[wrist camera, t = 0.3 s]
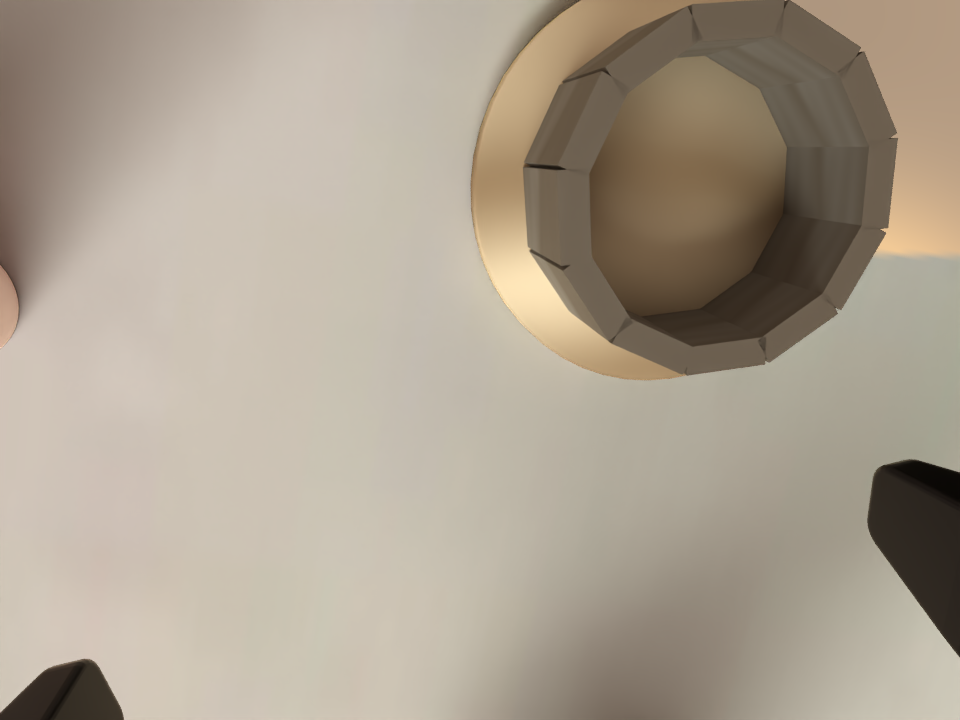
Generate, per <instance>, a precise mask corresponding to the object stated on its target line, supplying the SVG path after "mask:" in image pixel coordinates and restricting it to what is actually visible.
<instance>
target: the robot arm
mask: <svg viewBox="0 0 960 720" xmlns="http://www.w3.org/2000/svg"><path fill="white" fill-rule="evenodd" d="M867 523H868V529H869V532H870V535H871V537H872V539H873V540H874V542H875V544H876V545H877V546H878V548H879V549H880V551H881V552H882V553H883V555H884V556H885V557H886V559H887V560H888V561H889V563H890V564H891V566H892V567H893V568H894V570H895V571H896V572H897V574H898V575H899V577H900V578H901V579H902V581H903V582H904V583H905V585H906V586H907V587H908V589H909V590H910V592H911V593H912V594H913V596H914V597H915V598H916V600H917V601H918V603H919V604H920V605H921V607H922V608H923V609H924V611H925V612H926V613H927V615H928V616H929V618H930V619H931V620H932V622H933V623H934V624H935V626H936V627H937V629H938V630H939V631H940V633H941V634H942V635H943V637H944V638H945V639H946V640H947V642H948V643H949V644H950V646H951V647H952V648H953V650H954V651H955V652H956V653H957V655H958V656H959V657H960V472H956V471H953V470H950V469H946V468H943V467H939V466H936V465H932V464H929V463H926V462H922V461H919V460H913V459H909V460H903V461H899V462H894V463H890V464H886V465H883V466H881V467H879V468H878V469H877V470H876V472H875V473H874V476H873V482H872V489H871V496H870V503H869V511H868V518H867ZM0 720H124V717H123V713H122V710H121V707H120V705H119V703H118V701H117V700H116V698H115V696H114V694H113V692H112V690H111V688H110V687H109V685H108V683H107V681H106V679H105V677H104V675H103V674H102V672H101V670H100V668H99V667H98V665H97V664H96V663H95V662H94V661H92V660H90V659H81V660H77V661H73V662H68V663H64V664H60V665H56V666H53V667H50V668H48V669H46V670H45V671H44V672H42V673H41V674H40V675H39V676H38V677H37V678H36V679H35V680H34V681H33V682H32V683H31V684H30V685H29V686H27V687H26V688H25V689H24V690H23V691H22V692H21V693H20V694H19V695H18V696H17V697H16V698H15V699H14V700H13V701H12V702H11V703H10V704H9V705H8V706H7V707H6V708H5V709H4V710H3V711H2V712H1V713H0Z"/></svg>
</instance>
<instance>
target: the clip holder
mask: <svg viewBox="0 0 960 720" xmlns="http://www.w3.org/2000/svg"><path fill="white" fill-rule="evenodd" d="M860 48H861V47H860V46H858V45H857V44H855V43H854V42H852V41H850V40H849V39H848V38H846V37H845V36H843V35H842V34H840V33H839V32H837V31H835V30H834V29H833V28H831V27H830V26H828V25H826V24H825V23H824V22H822V21H821V20H819V19H818V18H816V17H815V16H813V15H812V14H810V13H808V12H807V11H806V10H804V9H803V8H801V7H800V6H798V5H796V4H795V3H793V2H792V1H790V0H787V1H784V0H581V1H579V2H578V3H576V4H574V5H573V6H571V7H570V8H568V9H567V10H565V11H564V12H562V13H561V14H559V15H558V16H557V17H556V18H554V19H553V20H552V21H551V22H550V23H549V24H547V25H546V26H545V27H544V28H543V29H542V30H540V31H539V32H538V33H537V34H536V35H535V36H534V37H533V39H532V40H531V41H530V42H529V43H528V44H527V45H526V46H525V47H524V49H523V50H522V51H521V52H520V53H519V54H518V56H517V57H516V59H515V60H514V61H513V63H512V64H511V66H510V67H509V69H508V70H507V72H506V73H505V75H504V76H503V77H502V79H501V81H500V83H499V85H498V87H497V89H496V91H495V93H494V95H493V97H492V99H491V101H490V103H489V105H488V108H487V111H486V113H485V116H484V119H483V122H482V124H481V127H480V130H479V135H478V139H477V143H476V147H475V152H474V156H473V166H472V175H471V211H472V218H473V225H474V232H475V237H476V240H477V244H478V247H479V251H480V254H481V258H482V261H483V263H484V266H485V268H486V270H487V272H488V275H489V277H490V279H491V282H492V283H493V285H494V287H495V288H496V290H497V292H498V293H499V295H500V297H501V298H502V300H503V302H504V303H505V304H506V306H507V307H508V308H509V309H510V311H511V312H512V313H513V314H514V315H515V317H516V318H517V319H518V320H519V321H520V323H521V324H522V325H523V326H524V327H525V328H526V329H527V330H528V331H529V332H530V333H532V334H533V335H534V336H535V337H536V338H537V339H538V340H539V341H540V342H541V343H542V344H543V345H545V346H546V347H548V348H549V349H551V350H552V351H553V352H555V353H556V354H558V355H559V356H561V357H562V358H564V359H566V360H568V361H570V362H572V363H574V364H576V365H578V366H580V367H582V368H585V369H588V370H591V371H593V372H596V373H599V374H602V375H607V376H612V377H617V378H622V379H633V380H657V379H670V378H675V377H680V376H685V375H694V374H701V373H708V372H715V371H722V370H729V369H736V368H743V367H750V366H757V365H764V364H765V361H767V362H771V361H772V360H774V359H775V358H776V357H778V356H779V355H781V354H782V353H783V352H785V351H786V350H788V349H789V348H790V347H792V346H793V345H795V344H796V343H797V342H799V341H800V340H802V339H803V338H804V337H806V336H807V335H809V334H810V333H811V332H813V331H814V330H816V329H817V328H818V327H820V326H821V325H823V324H824V323H825V322H827V321H828V320H830V319H831V318H833V317H834V316H835V315H837V314H838V313H837V311H836V309H835V308H837V309H840V310H842V308H843V306H844V304H845V303H846V301H847V299H848V298H849V296H850V294H851V293H852V291H853V289H854V287H855V286H856V284H857V282H858V281H859V279H860V277H861V275H862V274H863V272H864V270H865V269H866V267H867V265H868V264H869V262H870V260H871V258H872V257H873V255H874V253H875V252H876V250H877V248H878V246H879V245H880V243H881V241H882V240H883V238H884V236H885V234H886V232H884V231H882V230H880V229H883V228H888V224H889V215H890V205H891V196H892V187H893V177H894V168H895V158H896V148H897V140H898V138H891V137H892V136H893V135H895V134H896V133H897V132H896V129H895V127H894V124H893V122H892V119H891V117H890V114H889V112H888V110H887V107H886V104H885V102H884V99H883V97H882V94H881V92H880V89H879V87H878V85H877V82H876V79H875V77H874V75H873V72H872V70H871V67H870V65H869V62H868V60H867V57H866V55H865V53H864V52H859V50H860ZM858 52H859V53H858Z"/></svg>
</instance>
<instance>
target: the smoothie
mask: <svg viewBox="0 0 960 720" xmlns="http://www.w3.org/2000/svg"><path fill="white" fill-rule="evenodd" d="M18 315H19V305H18V298H17V294H16V291H15V288H14V285H13V283H12V281H11V279H10V278H9V276H8V274H7V273H6V271H5V270H4V269H3V268H2V266H1V265H0V349H1V348H2V347H3V346H4V345H5V344H6V343H7V342H8V340H9V339H10V338H11V336H12V334H13V332H14V330H15V328H16V325H17V321H18Z"/></svg>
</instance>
